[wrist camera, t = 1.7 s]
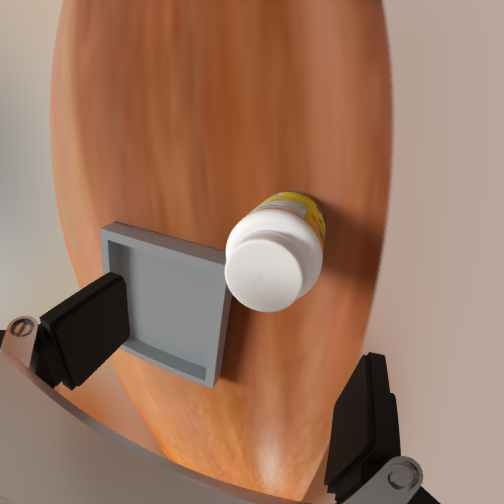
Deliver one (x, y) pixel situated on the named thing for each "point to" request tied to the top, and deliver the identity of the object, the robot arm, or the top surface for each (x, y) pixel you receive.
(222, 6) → the top surface
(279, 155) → the top surface
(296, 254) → the supplement bottle
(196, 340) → the tray
